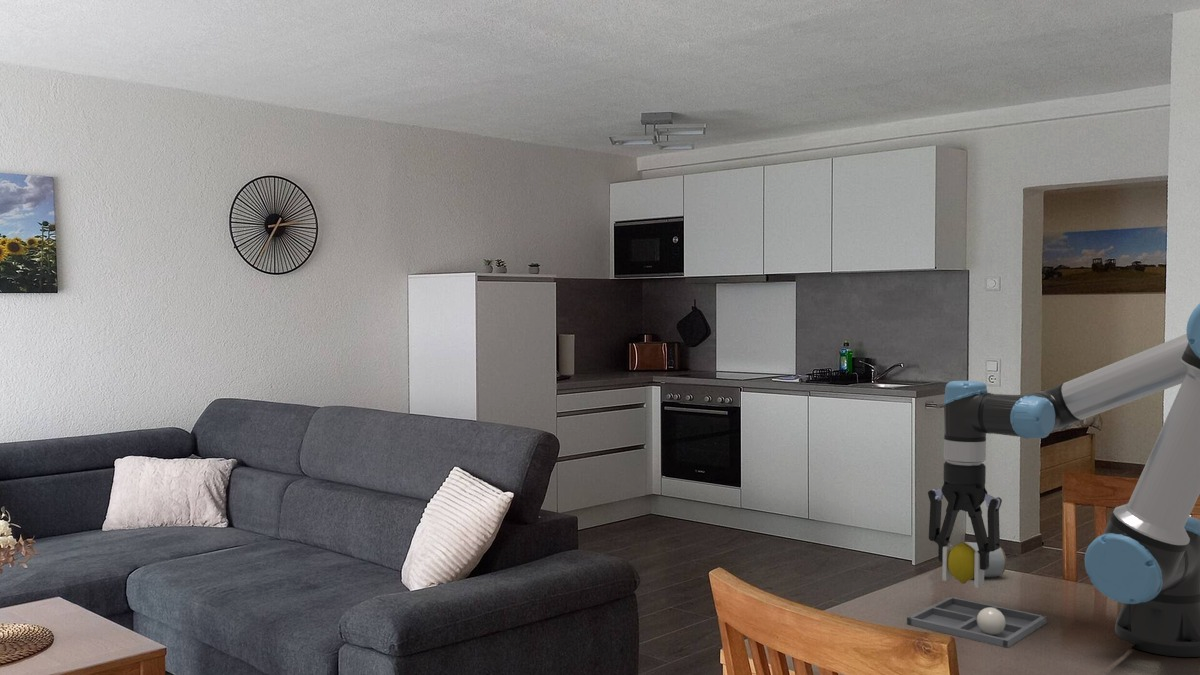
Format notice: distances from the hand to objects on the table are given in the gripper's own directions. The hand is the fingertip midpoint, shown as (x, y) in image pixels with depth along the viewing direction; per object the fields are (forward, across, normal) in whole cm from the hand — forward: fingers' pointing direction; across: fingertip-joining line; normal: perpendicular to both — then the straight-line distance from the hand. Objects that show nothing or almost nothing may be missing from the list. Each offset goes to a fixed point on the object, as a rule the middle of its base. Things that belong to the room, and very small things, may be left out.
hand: (963, 582), depth 185 cm
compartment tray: (+7, -5, +4) cm, 9 cm away
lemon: (+1, 0, 0) cm, 1 cm away
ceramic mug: (+7, +11, -32) cm, 35 cm away
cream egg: (+6, -9, +9) cm, 14 cm away
